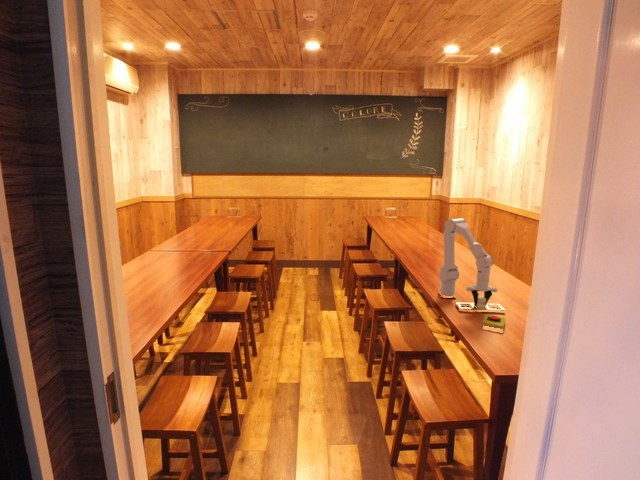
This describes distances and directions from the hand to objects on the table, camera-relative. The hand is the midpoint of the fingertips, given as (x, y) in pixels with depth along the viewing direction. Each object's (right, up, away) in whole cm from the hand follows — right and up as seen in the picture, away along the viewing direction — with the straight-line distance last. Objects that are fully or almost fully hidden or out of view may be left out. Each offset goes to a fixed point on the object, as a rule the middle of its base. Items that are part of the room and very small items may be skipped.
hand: (480, 304), depth 201 cm
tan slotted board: (0, -3, +1) cm, 3 cm away
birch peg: (0, -2, 0) cm, 2 cm away
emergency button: (-1, -7, -18) cm, 19 cm away
